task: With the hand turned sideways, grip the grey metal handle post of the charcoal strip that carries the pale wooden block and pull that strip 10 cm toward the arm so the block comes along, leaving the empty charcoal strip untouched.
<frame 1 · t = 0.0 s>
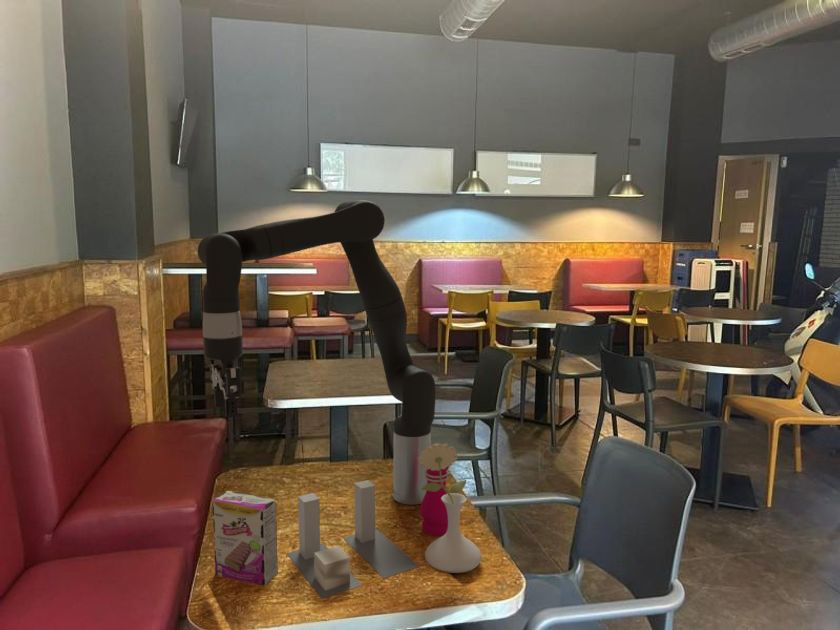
hand: (225, 411, 127), 29 cm above the table, tool pointing down, fingers open, 8 cm apart
flower in vase: (448, 563, 124), on the table
empty strip: (379, 526, 125), point 7 cm above the table, slide at 0.0 cm
candy bar box: (246, 581, 118), on the table
pepper mill: (436, 530, 138), on the table
pale block: (332, 579, 116), point 1 cm above the table, touching cube strip
cube strip: (322, 542, 119), point 7 cm above the table, slide at 0.0 cm, touching pale block
plastic bottle: (410, 472, 171), on the table
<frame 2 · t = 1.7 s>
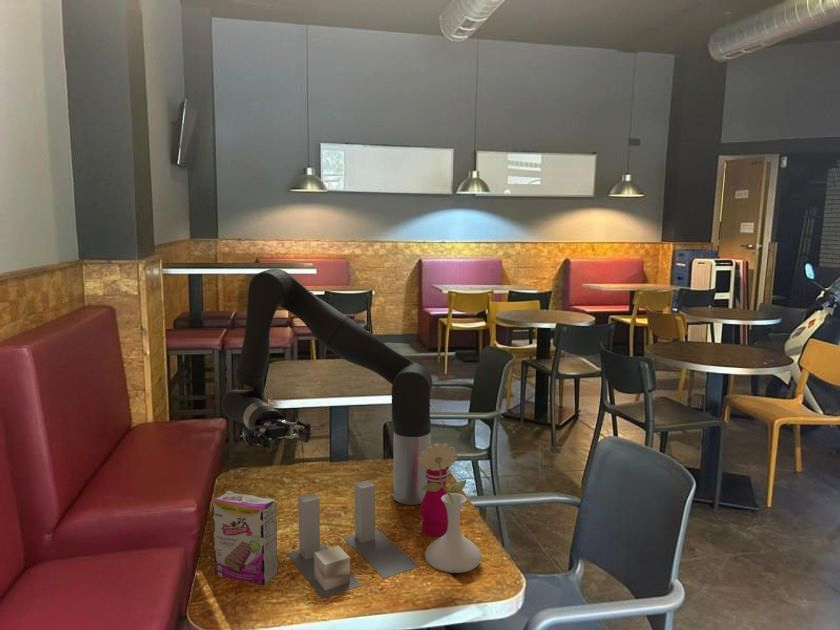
hand: (288, 441, 131), 22 cm above the table, tool horizontal, fingers open, 8 cm apart
nothing on the table moved.
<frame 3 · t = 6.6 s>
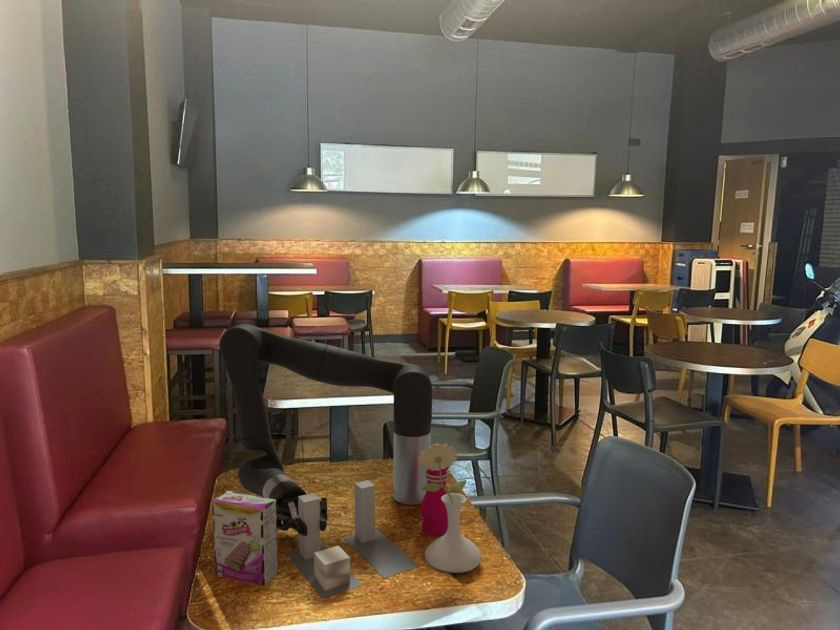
hand: (314, 528, 122), 8 cm above the table, tool horizontal, fingers closed on cube strip, 3 cm apart
cube strip: (322, 542, 119), point 7 cm above the table, slide at 0.0 cm, touching gripper, pale block
everything else where it was.
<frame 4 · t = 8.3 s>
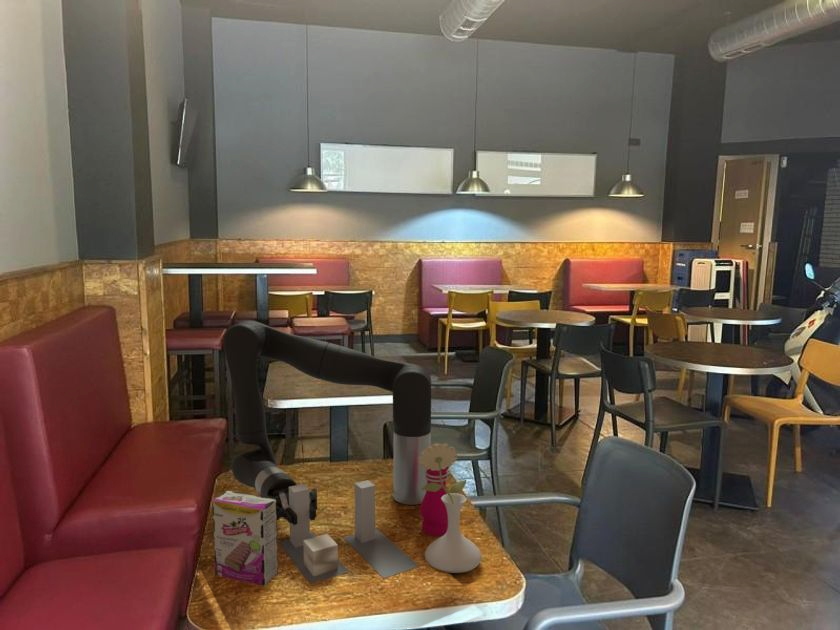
hand: (304, 517, 126), 8 cm above the table, tool horizontal, fingers closed on cube strip, 3 cm apart
pale block: (320, 566, 120), point 1 cm above the table, touching cube strip
cube strip: (311, 530, 123), point 7 cm above the table, slide at 5.4 cm, touching gripper, pale block
everything else where it was.
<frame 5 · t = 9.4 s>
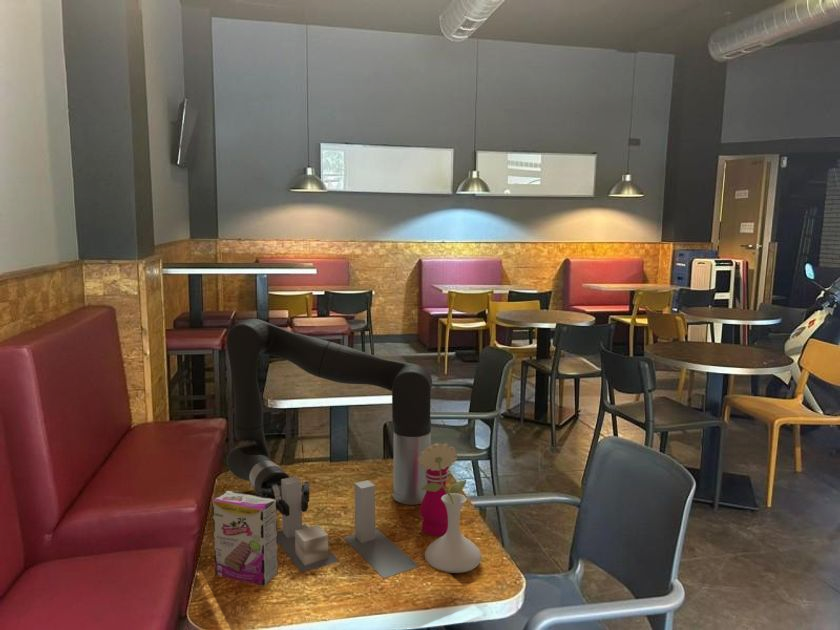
hand: (296, 509, 130), 8 cm above the table, tool horizontal, fingers closed on cube strip, 3 cm apart
pale block: (311, 556, 124), point 1 cm above the table, touching cube strip
cube strip: (303, 521, 127), point 7 cm above the table, slide at 9.9 cm, touching gripper, pale block
everything else where it was.
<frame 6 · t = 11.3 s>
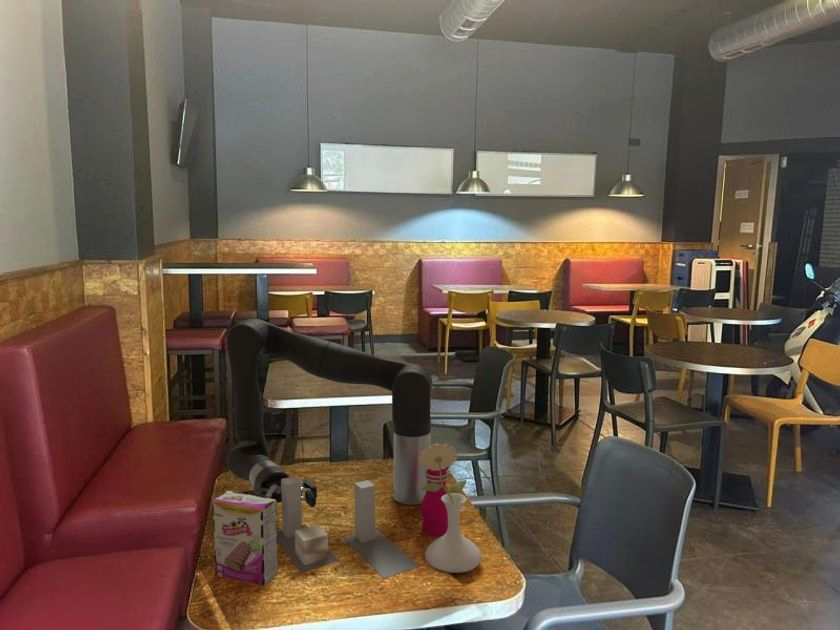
hand: (294, 507, 131), 8 cm above the table, tool horizontal, fingers open, 8 cm apart
cube strip: (302, 521, 127), point 7 cm above the table, slide at 10.0 cm, touching pale block
everything else where it was.
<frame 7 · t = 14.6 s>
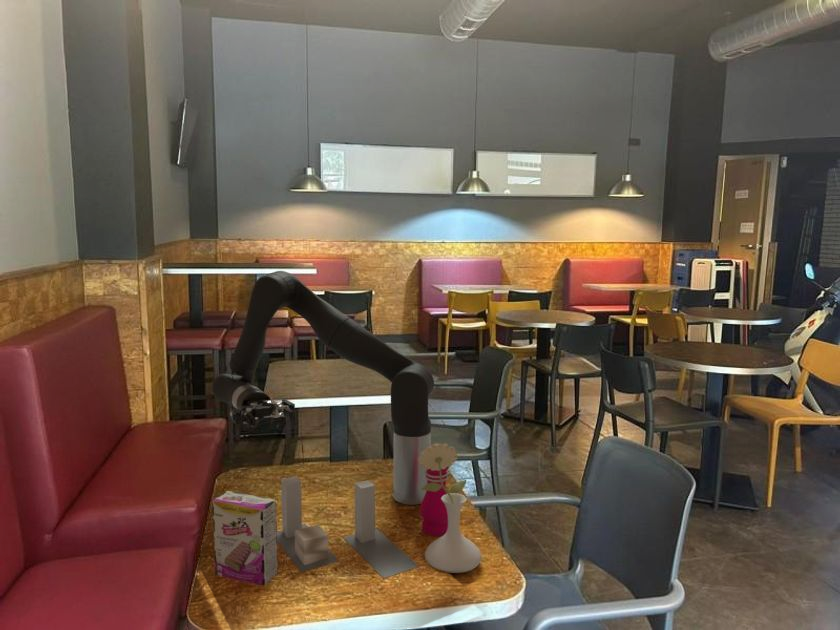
hand: (272, 419, 139), 24 cm above the table, tool horizontal, fingers open, 8 cm apart
nothing on the table moved.
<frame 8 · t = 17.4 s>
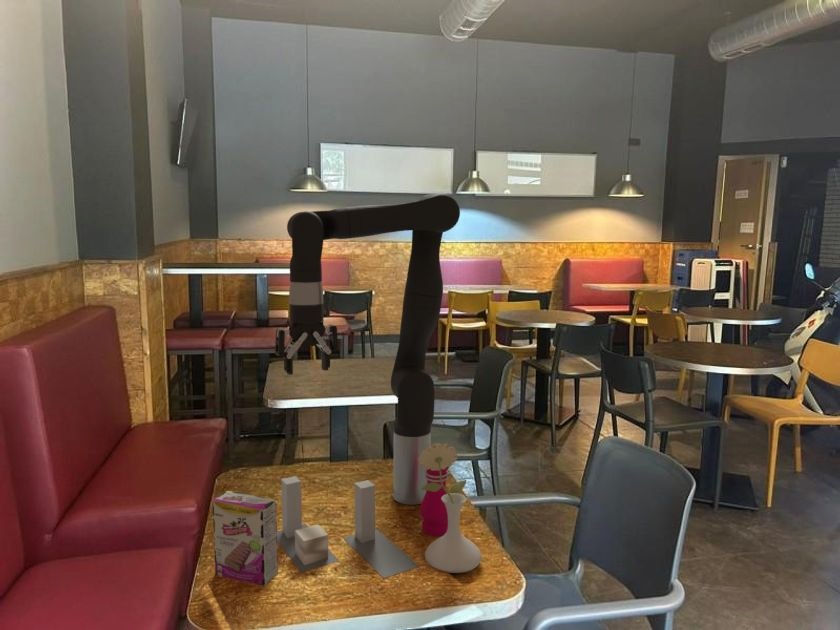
hand: (307, 372, 141), 34 cm above the table, tool pointing down, fingers open, 8 cm apart
nothing on the table moved.
at the end: cube strip slide at 10.0 cm; pale block inside the target area (2.0 cm from its centre), point 1.4 cm above the table; empty strip slide at 0.0 cm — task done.
